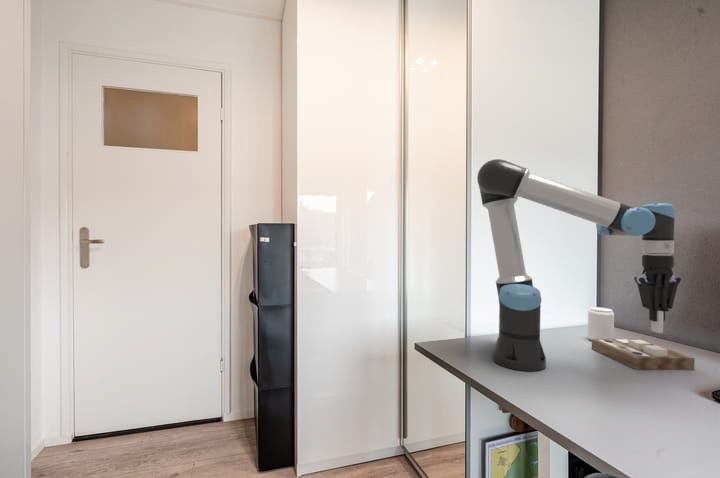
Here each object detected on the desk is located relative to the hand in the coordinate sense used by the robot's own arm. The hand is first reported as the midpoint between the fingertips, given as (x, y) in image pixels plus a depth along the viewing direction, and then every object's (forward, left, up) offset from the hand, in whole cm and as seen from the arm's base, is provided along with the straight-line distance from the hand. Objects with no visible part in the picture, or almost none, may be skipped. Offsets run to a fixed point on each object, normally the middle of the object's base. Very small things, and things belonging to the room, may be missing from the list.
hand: (657, 331), depth 110 cm
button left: (0, +12, -10) cm, 16 cm away
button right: (0, 0, -8) cm, 8 cm away
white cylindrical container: (+1, +25, -11) cm, 27 cm away
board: (0, +6, -10) cm, 12 cm away
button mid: (0, +6, -8) cm, 10 cm away
